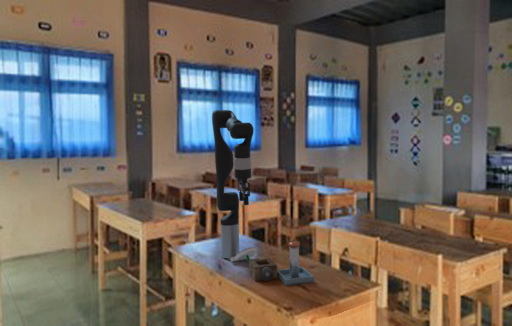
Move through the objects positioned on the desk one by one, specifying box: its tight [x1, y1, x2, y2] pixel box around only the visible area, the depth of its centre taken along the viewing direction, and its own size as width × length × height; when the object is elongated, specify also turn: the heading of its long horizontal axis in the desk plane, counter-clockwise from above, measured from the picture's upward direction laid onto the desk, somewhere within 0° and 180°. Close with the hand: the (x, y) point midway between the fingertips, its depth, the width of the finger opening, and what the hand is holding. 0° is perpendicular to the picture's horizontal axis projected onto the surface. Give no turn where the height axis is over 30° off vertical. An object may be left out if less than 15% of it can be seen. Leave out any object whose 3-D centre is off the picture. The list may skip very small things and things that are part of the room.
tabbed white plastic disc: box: [228, 246, 258, 264], centre depth 201 cm, size 15×8×11 cm
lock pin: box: [287, 240, 301, 279], centre depth 177 cm, size 5×5×15 cm
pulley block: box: [248, 257, 278, 282], centre depth 181 cm, size 12×10×6 cm
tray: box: [277, 266, 315, 287], centre depth 177 cm, size 13×13×2 cm
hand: (243, 202), depth 186 cm, fingers open, 8 cm apart
